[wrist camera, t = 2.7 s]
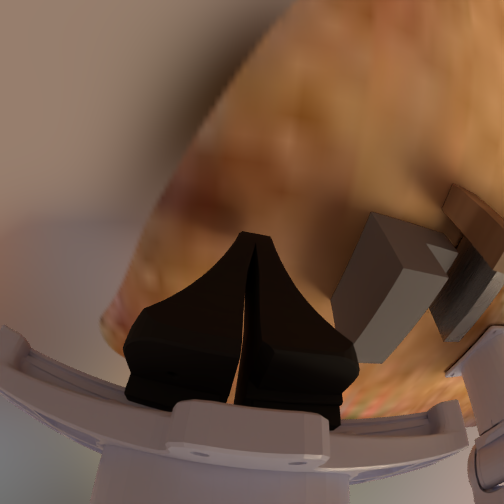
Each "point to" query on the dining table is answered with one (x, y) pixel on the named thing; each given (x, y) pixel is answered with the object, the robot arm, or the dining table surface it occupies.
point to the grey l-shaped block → (465, 293)
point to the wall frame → (477, 224)
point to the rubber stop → (389, 284)
